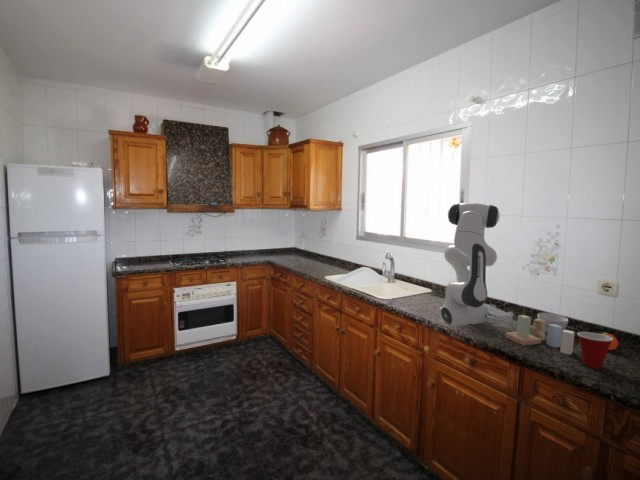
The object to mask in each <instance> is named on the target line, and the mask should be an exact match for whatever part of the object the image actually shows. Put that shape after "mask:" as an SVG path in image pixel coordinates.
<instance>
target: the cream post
mask: <svg viewBox="0 0 640 480" xmlns="http://www.w3.org/2000/svg"><path fill="white" fill-rule="evenodd" d="M574 342H575V331H573V330H569V329H568V330H567V329H566V328H565V329H564V330H563V331H562V334H561V344H560V347H559V348H560V350H559V353H561V354H565V355H567V356H568V355H569V356H571V355H572V353H573V349H574Z"/></svg>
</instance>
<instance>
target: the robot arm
mask: <svg viewBox="0 0 640 480" xmlns="http://www.w3.org/2000/svg"><path fill="white" fill-rule="evenodd" d="M447 218H448V222H449V223H450V224H451V225H454V226H456V227H455V228H456V229H455V232H454V239H453V244H451V245H447V247H446V248H445V250H444V254H443V255H444V259H445V261H446V262H447V263H448V264H449V265H451V267H452V268H453V270H454V271H455V275H456V281H452V282H449V283H448V284H447V286H446V287H445V291H444V294H445V295H444V296H445V299H444V303H443V305H442V306H441V307H440V308H439V310H440V315H441V318H442V320H443V321H444V322H445V323H446V324H448V325H450V326H466V325H469V324H470V325H476V324H477V325H478V324H484V323H485V322H487V321H490V322H492V323H494V324H498V325H500V324H501V325H507V324H512V322H513V317H514V312H512V311H507V312H506V311H504V310H502V309H499V308H497V305H495V304H488V303H485V302H487V299H488V289H487V282H486V281H487V280H486V276H487V275H486V273H487V272H486V268H487V267H493V266H494V264H495V263H496V262H497V260H498V254H497V252H496V250H495V249H494V248H493V247H492V246H490V245H488V243H487V242H486V240H485V229H486V228H487V229H489V228H494V227H495V226H497V224H498V222H499V221H500V211H499V208H498V207H497V206H496V205H493V204H484V203H478V202H477V203H473V202H472V203H469V202H467V203H466V202H465V203H460V202H455V203H452V204H451V205H450V207H449V209H448V211H447ZM468 267H469V268H468Z"/></svg>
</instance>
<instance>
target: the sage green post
mask: <svg viewBox="0 0 640 480" xmlns="http://www.w3.org/2000/svg"><path fill="white" fill-rule="evenodd" d="M531 320H532V317H531V316H528V315H525V314H521V315H519V314H518V315H517V323H516V324H517V325H516V326H517V327H516V332H517V334H516V335H518V336H520V337H523V338H524V337H529V334H530V333H531V331H530V330H531Z"/></svg>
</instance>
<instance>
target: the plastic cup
mask: <svg viewBox="0 0 640 480" xmlns="http://www.w3.org/2000/svg"><path fill="white" fill-rule="evenodd" d="M576 335H577V336H578V340H579V344H580V354H581V361H582V364H583V365H584V366H586V367H588V368H592V369H597V370H599V369H602V367H603V365H604V362H605V360H606V357H607V354H608V351H609V350H608V349H609V346H610V344H611V342H612V340H613V338H612V337H610V336H607V335H603V333H601V334H599V333H597V332H590V331H580V332H579V331H578V332H577V333H576Z"/></svg>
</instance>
